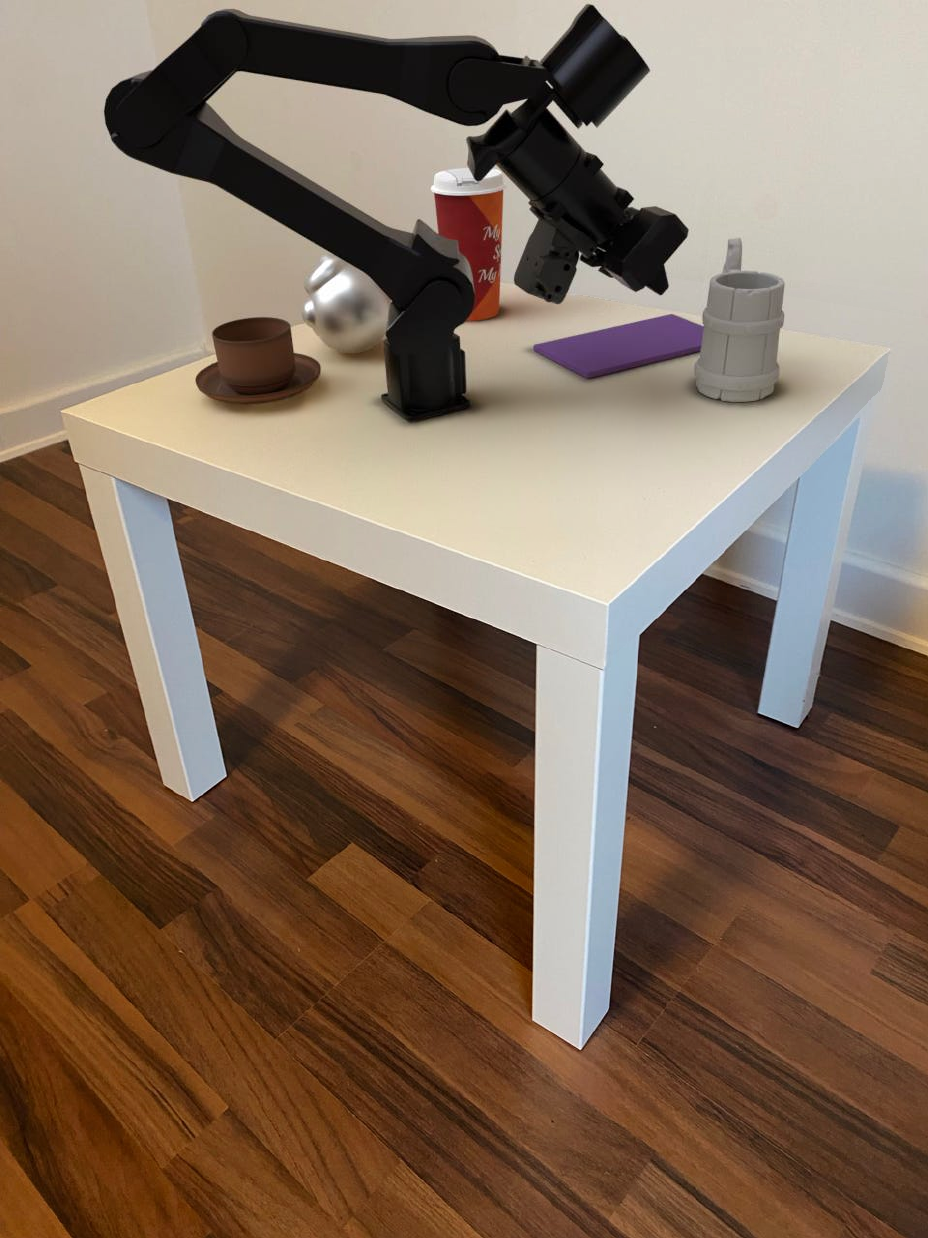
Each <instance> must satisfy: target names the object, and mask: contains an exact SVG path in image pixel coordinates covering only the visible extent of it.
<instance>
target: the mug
mask: <svg viewBox="0 0 928 1238" xmlns="http://www.w3.org/2000/svg"><path fill="white" fill-rule="evenodd" d="M726 249H727V250H726V256H725V262H724V263H723V268H722V273H719V274H716V275H714V276H712V277H711V278H710V281H709V287H708V293H707V300H706V306H705V308H704V309H703V311H702V317H701V319H702V320H701V322H702V326H704V329H703V338H702V345H701V351H699V352H700V353H699V357H698V358H697V360H696V362H695V364H694V367H693V375H694V377H695V379H696V381H695V387H696V389H697V390H698V392H699V393H700V394H702V395H704V396H706V397H709V398H711V399H714V400H721V401H722V402H732V403H745V402H747V403H748V402H756V401H759V400H763V399H764V398H765V397H767V396H769V395H771V394H772V393H773V392H774V390H775V384H776V383H777V382H778V380H779V377H780V373H781V370H780V369H781V367H780V365H779V363H778V353H779V342H780V332H781V329H782V327H784V324H785V312H784V311H783V303H784V294H785V286H786V285H785V281H784V279H783V278H782V277H781V276H778V275H775V274H774V273H769V272H766V271H761V272H759V271H756V270H742V263H743V261H742V259H743V241H742V239H741V237H736V238H729V239H727V248H726Z"/></svg>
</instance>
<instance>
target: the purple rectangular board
mask: <svg viewBox="0 0 928 1238" xmlns="http://www.w3.org/2000/svg"><path fill="white" fill-rule="evenodd" d="M703 329H704V325H701V324H699V323H696V322H693V321H691V320H689V319H687V318H684V317H681V316H678V315H675V314H674V313H669V314H664V315H660V316H656V317H651V318H647V319H642V320H638V321H633V322H629V323H625V324H624V323H623V324H621V325H616V326H611V327H606V328H603V329H602V328H601V329H598V330H594V331H589V332H585V333H579V334H575V335H571V336H567V337H563V338H559V339H554V340H548V341H545V342H541V343H535V344H533V351H534V352H536V353H538V354H540V355H541V356H544V357H545V358H548V359H549V360H551V361H553V362H555V363H556V364H558V365H560V366H562V367H564V368H565V369H568V370H570V371H572V372H574V373H576V374H578V375H579V376H582V377H583V378H585V379H587V380H588V379H593V378H596V377H601V376H604V375H608V374H613V373H617V372H621V371H626V370H629V369H633V368H636V367H642V366H645V365H649V364H654V363H657V362H662V361H666V360H669V359H674V358H678V357H682V356H685V355H690V354H694V353H698V352H700V351H701V345H702V338H703Z"/></svg>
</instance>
